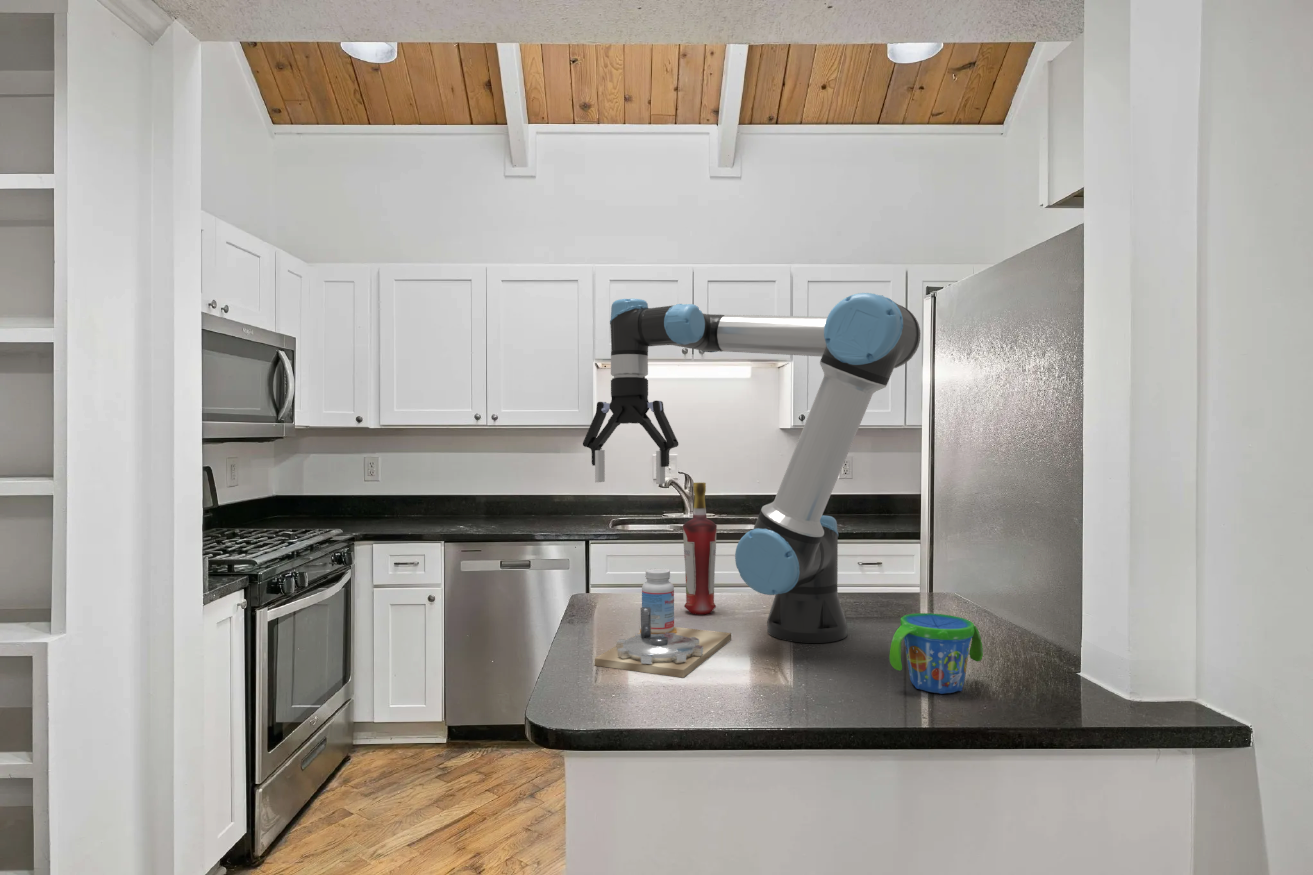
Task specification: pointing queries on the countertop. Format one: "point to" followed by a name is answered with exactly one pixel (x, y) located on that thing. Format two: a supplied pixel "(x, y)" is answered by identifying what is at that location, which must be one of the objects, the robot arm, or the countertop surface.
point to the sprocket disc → (657, 645)
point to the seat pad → (664, 633)
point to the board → (706, 639)
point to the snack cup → (936, 650)
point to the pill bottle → (659, 599)
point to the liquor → (699, 556)
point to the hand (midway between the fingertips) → (629, 483)
